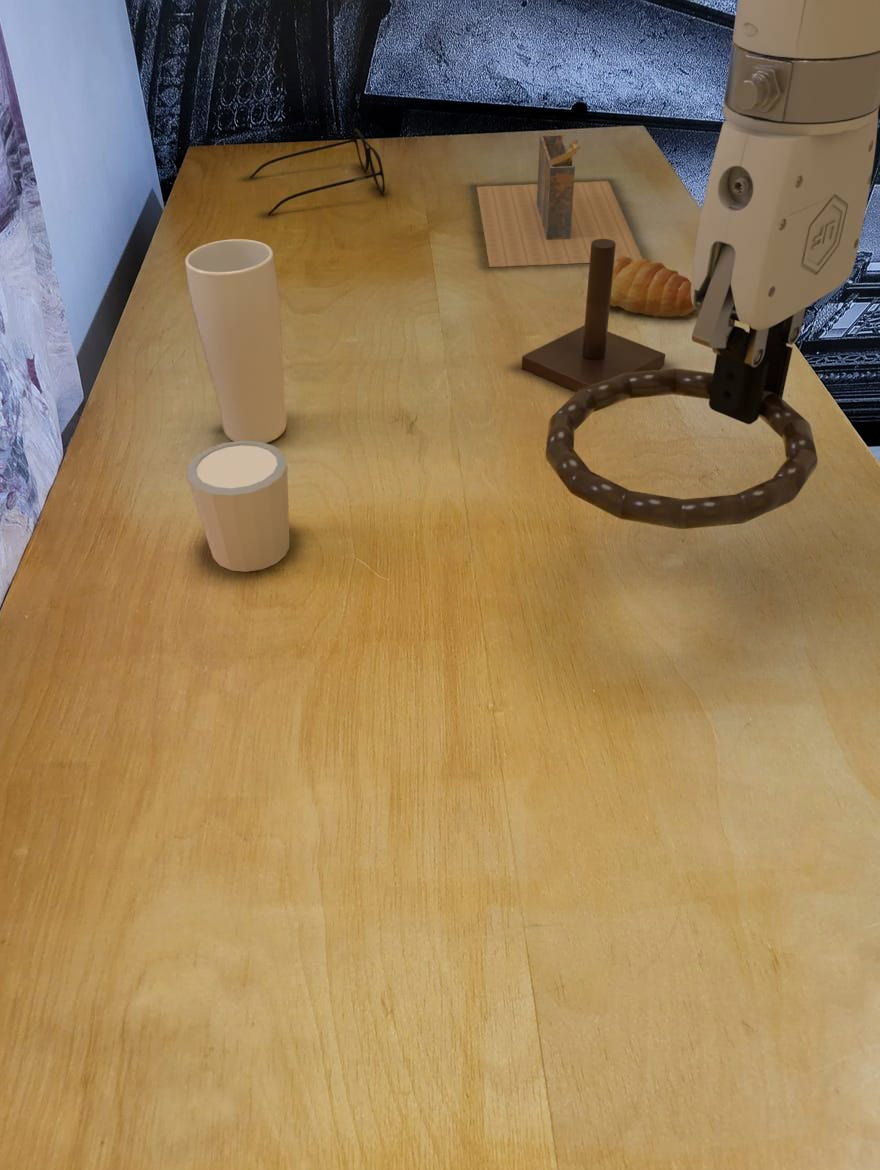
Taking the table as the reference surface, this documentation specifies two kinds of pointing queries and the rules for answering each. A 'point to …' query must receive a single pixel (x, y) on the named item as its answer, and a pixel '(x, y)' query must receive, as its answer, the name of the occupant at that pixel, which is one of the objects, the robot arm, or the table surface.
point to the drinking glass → (240, 334)
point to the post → (593, 337)
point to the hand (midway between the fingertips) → (744, 406)
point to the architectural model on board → (552, 215)
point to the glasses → (368, 160)
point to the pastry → (650, 288)
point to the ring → (668, 508)
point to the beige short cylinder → (242, 503)
